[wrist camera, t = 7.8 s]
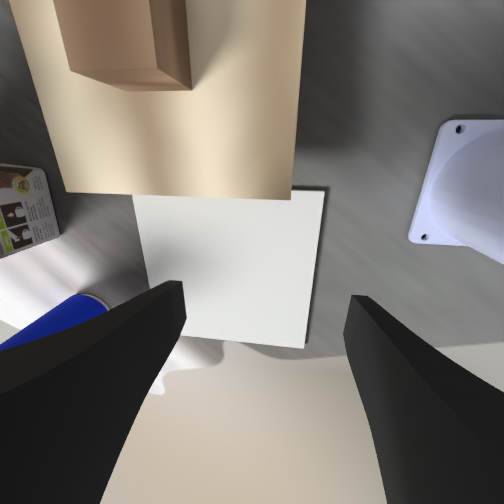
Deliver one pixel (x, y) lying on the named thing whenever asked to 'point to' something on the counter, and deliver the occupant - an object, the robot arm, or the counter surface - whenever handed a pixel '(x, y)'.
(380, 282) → the counter surface
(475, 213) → the robot arm
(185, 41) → the lid
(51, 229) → the coffee box
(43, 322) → the beverage can
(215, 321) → the mat
